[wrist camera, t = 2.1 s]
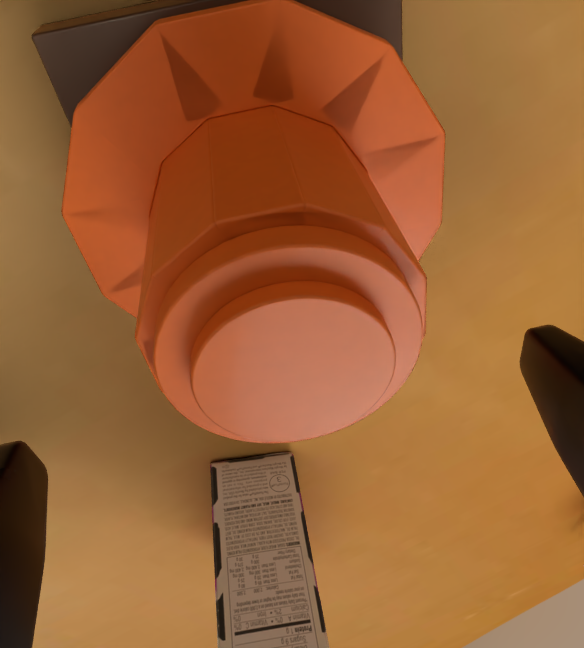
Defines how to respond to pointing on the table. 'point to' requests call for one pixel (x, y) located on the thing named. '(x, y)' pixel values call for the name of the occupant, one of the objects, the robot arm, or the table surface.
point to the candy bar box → (263, 557)
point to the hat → (261, 214)
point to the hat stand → (131, 22)
